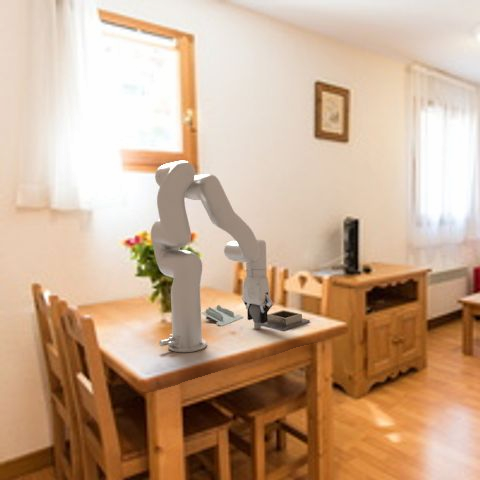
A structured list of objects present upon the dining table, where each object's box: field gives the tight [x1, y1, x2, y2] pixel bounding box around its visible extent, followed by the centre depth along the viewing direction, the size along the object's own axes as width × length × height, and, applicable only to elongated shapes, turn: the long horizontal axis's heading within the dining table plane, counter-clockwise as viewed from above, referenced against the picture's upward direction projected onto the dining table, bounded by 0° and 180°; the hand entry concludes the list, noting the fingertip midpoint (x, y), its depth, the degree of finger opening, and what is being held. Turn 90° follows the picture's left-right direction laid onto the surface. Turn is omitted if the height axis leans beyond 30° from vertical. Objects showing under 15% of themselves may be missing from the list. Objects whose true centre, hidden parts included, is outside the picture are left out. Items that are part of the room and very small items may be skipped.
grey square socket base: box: [261, 310, 311, 332], centre depth 159 cm, size 16×12×4 cm
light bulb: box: [249, 304, 265, 330], centre depth 153 cm, size 6×6×10 cm
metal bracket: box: [201, 304, 244, 327], centre depth 167 cm, size 14×6×15 cm
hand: (257, 320), depth 153 cm, fingers closed on light bulb, 6 cm apart
